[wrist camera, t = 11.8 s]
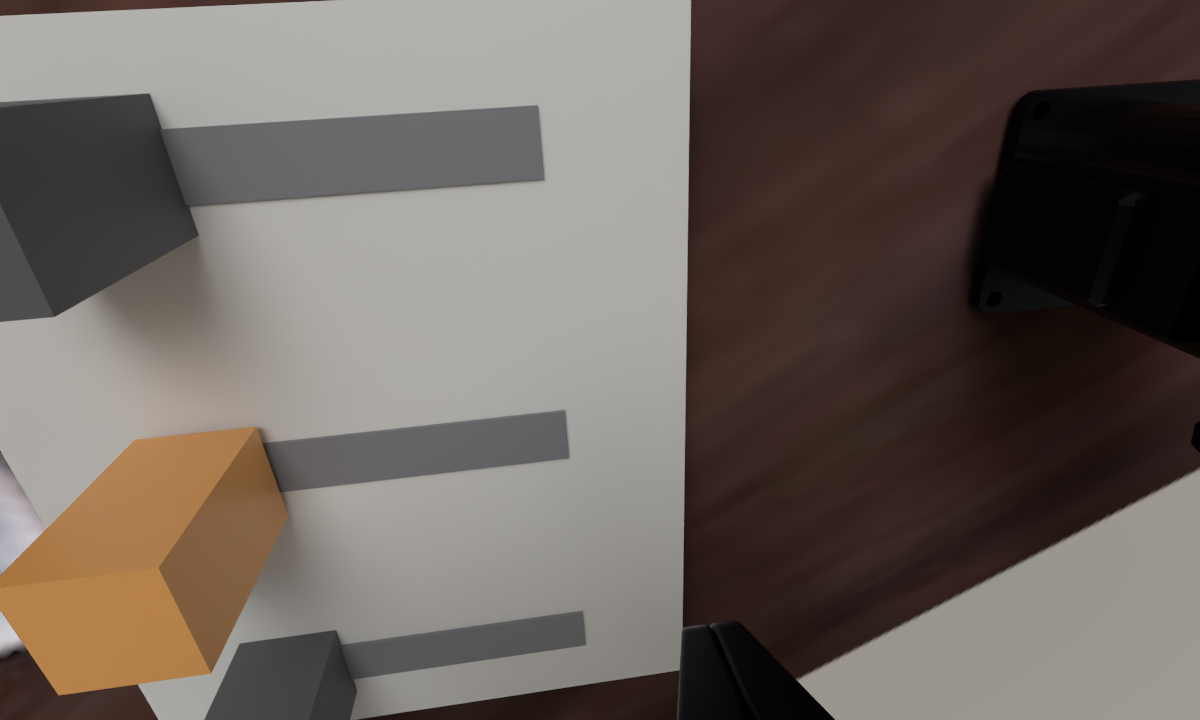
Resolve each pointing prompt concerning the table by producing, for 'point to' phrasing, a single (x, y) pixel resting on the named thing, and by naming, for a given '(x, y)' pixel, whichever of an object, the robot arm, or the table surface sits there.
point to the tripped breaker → (148, 563)
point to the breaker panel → (371, 322)
